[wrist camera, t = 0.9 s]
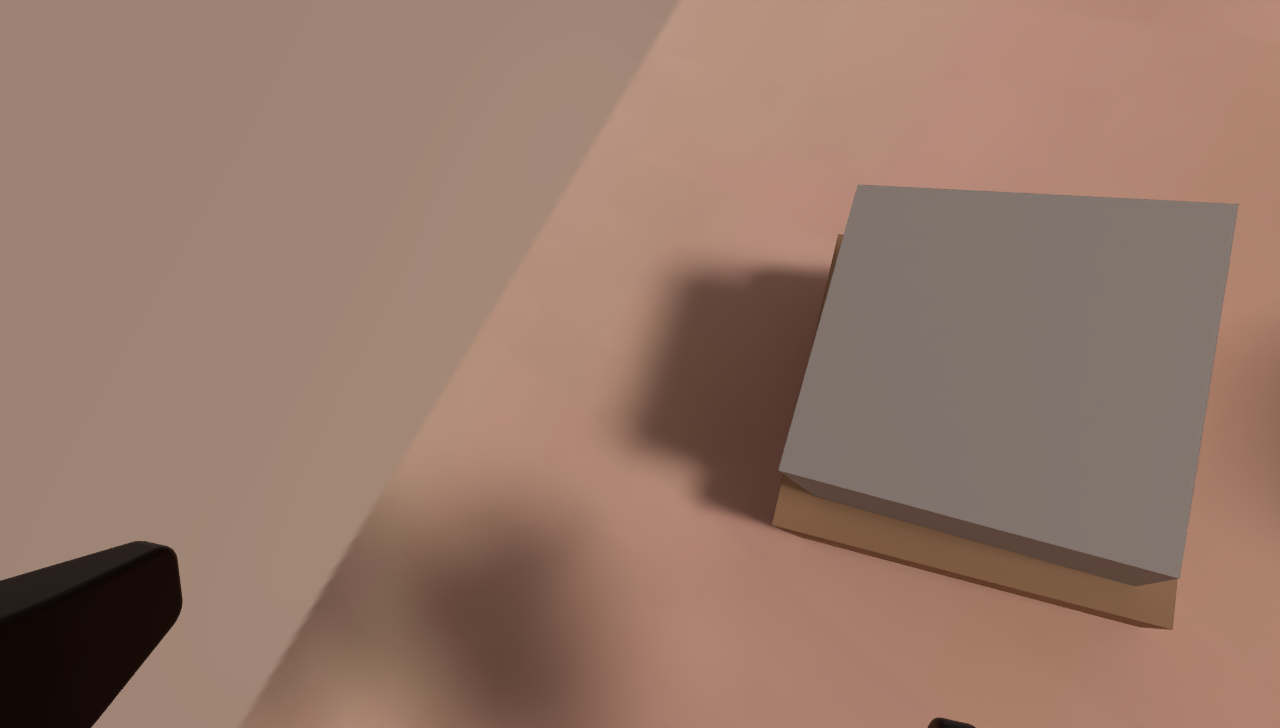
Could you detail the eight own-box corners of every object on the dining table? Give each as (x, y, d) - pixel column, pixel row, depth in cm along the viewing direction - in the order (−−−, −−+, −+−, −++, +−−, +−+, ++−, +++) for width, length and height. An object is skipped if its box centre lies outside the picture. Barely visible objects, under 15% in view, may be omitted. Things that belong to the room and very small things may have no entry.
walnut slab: (1137, 626, 16) (1172, 629, 13) (803, 538, 20) (771, 524, 17) (1171, 312, 18) (1210, 251, 15) (857, 286, 22) (838, 234, 19)
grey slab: (1135, 586, 14) (1179, 578, 11) (814, 496, 17) (777, 470, 14) (1186, 287, 15) (1238, 204, 12) (878, 255, 18) (857, 184, 15)
